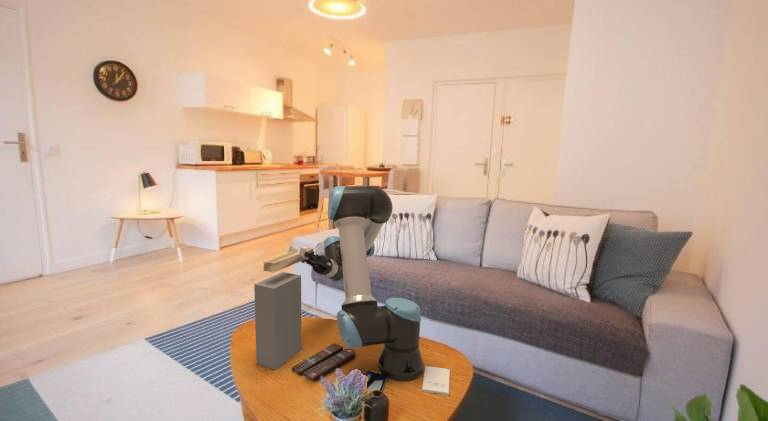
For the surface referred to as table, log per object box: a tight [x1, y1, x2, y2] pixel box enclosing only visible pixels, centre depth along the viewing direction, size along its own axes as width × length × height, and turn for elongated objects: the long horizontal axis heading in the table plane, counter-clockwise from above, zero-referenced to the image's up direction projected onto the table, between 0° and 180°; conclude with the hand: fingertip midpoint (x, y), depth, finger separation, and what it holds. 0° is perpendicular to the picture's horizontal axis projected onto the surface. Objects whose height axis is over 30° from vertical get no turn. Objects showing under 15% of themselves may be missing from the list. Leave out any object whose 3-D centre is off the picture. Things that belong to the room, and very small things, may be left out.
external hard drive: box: [421, 365, 451, 396], centre depth 118 cm, size 2×8×12 cm
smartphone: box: [364, 370, 389, 393], centre depth 114 cm, size 7×1×15 cm
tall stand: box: [253, 271, 303, 371], centre depth 127 cm, size 8×14×28 cm, turn 156°
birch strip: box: [263, 246, 314, 273], centre depth 130 cm, size 4×22×3 cm, turn 156°
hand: (293, 250), depth 131 cm, fingers closed on birch strip, 4 cm apart
